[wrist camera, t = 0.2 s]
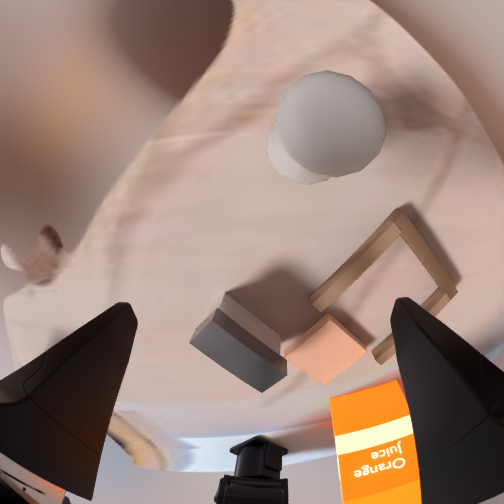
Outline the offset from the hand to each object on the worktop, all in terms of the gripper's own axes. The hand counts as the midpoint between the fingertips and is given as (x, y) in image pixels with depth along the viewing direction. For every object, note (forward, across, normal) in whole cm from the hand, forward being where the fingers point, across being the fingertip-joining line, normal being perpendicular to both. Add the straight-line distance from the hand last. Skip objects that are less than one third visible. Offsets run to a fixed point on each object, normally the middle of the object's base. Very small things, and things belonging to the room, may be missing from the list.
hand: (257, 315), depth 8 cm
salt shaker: (+16, -3, -3) cm, 17 cm away
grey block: (+12, +3, +12) cm, 18 cm away
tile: (+12, -5, +16) cm, 21 cm away
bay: (+13, -10, +10) cm, 20 cm away
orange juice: (+10, -11, +27) cm, 30 cm away
